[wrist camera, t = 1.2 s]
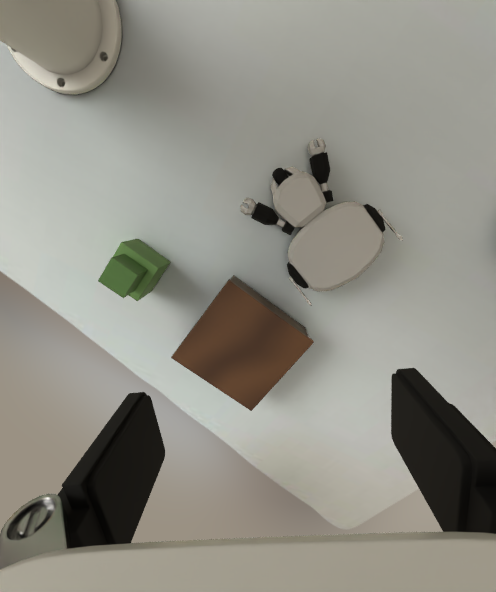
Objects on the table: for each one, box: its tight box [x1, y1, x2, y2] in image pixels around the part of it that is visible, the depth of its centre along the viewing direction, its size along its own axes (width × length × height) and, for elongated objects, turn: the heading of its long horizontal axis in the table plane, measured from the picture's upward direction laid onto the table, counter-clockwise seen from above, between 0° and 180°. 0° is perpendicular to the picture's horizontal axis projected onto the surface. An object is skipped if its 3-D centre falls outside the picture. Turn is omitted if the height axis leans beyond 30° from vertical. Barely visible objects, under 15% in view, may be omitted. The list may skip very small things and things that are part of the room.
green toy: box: [98, 239, 170, 301], centre depth 34 cm, size 5×5×7 cm
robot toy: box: [240, 138, 403, 306], centre depth 33 cm, size 12×4×15 cm
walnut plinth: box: [171, 275, 314, 411], centre depth 37 cm, size 13×13×4 cm
